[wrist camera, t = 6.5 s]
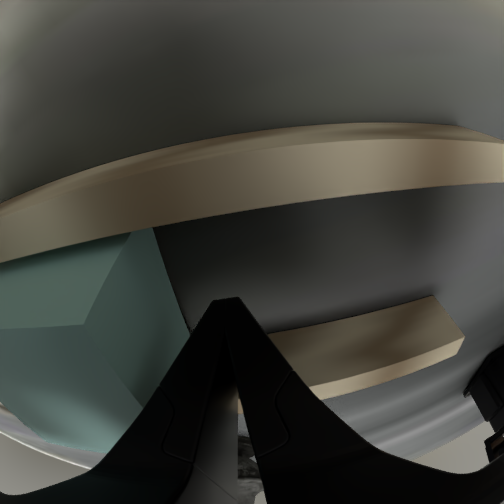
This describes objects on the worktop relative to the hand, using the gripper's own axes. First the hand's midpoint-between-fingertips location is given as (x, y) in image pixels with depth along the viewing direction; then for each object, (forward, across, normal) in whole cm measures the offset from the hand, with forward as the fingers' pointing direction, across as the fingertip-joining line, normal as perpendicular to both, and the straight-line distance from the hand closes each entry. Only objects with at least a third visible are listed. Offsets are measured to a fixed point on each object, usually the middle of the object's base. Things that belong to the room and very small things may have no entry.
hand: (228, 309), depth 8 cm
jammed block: (+2, +5, 0) cm, 5 cm away
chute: (+2, +1, 0) cm, 2 cm away
